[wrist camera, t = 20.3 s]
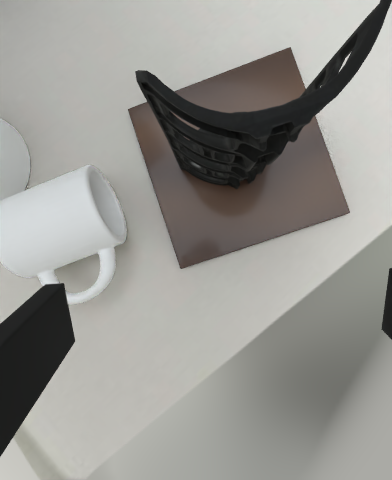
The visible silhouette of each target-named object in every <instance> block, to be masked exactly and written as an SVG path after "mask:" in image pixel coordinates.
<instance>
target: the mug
mask: <svg viewBox="0 0 392 480" xmlns="http://www.w3.org/2000/svg"><path fill="white" fill-rule="evenodd" d="M126 237H127V227H126V221H125V217H124V214H123V211H122V208H121V205H120V203H119V200H118V198H117V196H116V194H115V192H114V190H113V188H112V186H111V185H110V183H109V182H108V180H107V179H106V177H105V176H104V175H103V174H102V172H101V171H100V170H99V169H97V168H96V167H95V166H92V165H86V166H84V167H81V168H79V169H76V170H74V171H71V172H69V173H66V174H64V175H61V176H59V177H56V178H54V179H52V180H49V181H47V182H44V183H42V184H39V185H37V186H34V187H32V188H29V189H27V190H24V191H22V192H20V193H17V194H15V195H12V196H10V197H7V198H5V199H2V200H0V263H1V264H2V265H3V266H4V267H5V268H7V269H8V270H9V271H10V272H12V273H14V274H16V275H18V276H20V277H24V278H32V277H36V276H38V278H39V280H40V282H41V284H42V286H44V285H45V284H60V282H59V281H58V279H57V277H56V274H55V272H54V271H55V269H57V268H59V267H62V266H64V265H67V264H70V263H72V262H75V261H78V260H80V259H83V258H85V257H88V256H91V255H93V254H96V253H98V254H99V258H100V273H99V277H98V279H97V281H96V283H95V284H94V285H93V286H92V287H90V288H89V289H87V290H85V291H83V292H80V293H75V294H74V293H69V292H67V291H66V290H65V292H66V297H67V302H68V305H76V304H80V303H84V302H86V301H88V300H90V299H92V298H94V297H95V296H97V295H98V294H100V293H101V292H102V291H103V290H104V289H105V288H106V287H107V286H108V284H109V283H110V282H111V280H112V278H113V276H114V273H115V268H116V256H115V250H114V247H115V246H117V245H120V244H122V243H124V242H125V240H126Z"/></svg>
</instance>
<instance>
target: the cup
mask: <svg viewBox="0 0 392 480" xmlns="http://www.w3.org/2000/svg"><path fill="white" fill-rule="evenodd" d="M29 175H30V156H29V152H28V148H27V145H26V143H25V141H24V139H23V137H22V136H21V135H20V134H19V132H18V131H17V130H16V129H15V128H14V127H13V126H11V125H10V124H9V123H8V122H6V121H4V120H3V119H1V118H0V200H2V199H5V198H7V197H10V196H12V195H15V194H17V193H20V192H22V191H24V190H25V188H26V185H27V183H28V180H29Z"/></svg>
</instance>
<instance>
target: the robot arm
mask: <svg viewBox="0 0 392 480" xmlns="http://www.w3.org/2000/svg"><path fill="white" fill-rule="evenodd" d="M382 330H383V331H384V332H385V333H386V334H387V335H388V336H389V337H390V338H391V339H392V268H390V269H389V276H388V284H387V292H386V299H385V307H384V315H383V322H382ZM74 342H75V337H74V332H73V327H72V322H71V317H70V312H69V307H68V302H67V297H66V292H65V287H64V283H60V284H45V285H44V286H43V287H42V288H41V289H40V290H38V291H37V292H36V293H35V294H34V295H33V296H32V297H30V298H29V299H28V300H27V301H26V302H25V303H24V304H23V305H21V306H20V307H19V308H18V309H17V310H16V311H15V312H13V313H12V314H11V315H10V316H9V317H8V318H7V319H6V320H4V321H3V322H2V323H1V324H0V456H1V455H2V453H3V452H4V450H5V449H6V447H7V446H8V444H9V443H10V441H11V439H12V438H13V436H14V435H15V433H16V432H17V430H18V429H19V427H20V426H21V424H22V423H23V421H24V419H25V418H26V416H27V415H28V413H29V412H30V410H31V409H32V407H33V406H34V404H35V402H36V401H37V399H38V398H39V396H40V395H41V393H42V392H43V390H44V389H45V387H46V386H47V384H48V382H49V381H50V379H51V378H52V376H53V375H54V373H55V372H56V370H57V369H58V367H59V365H60V364H61V362H62V361H63V359H64V358H65V356H66V355H67V353H68V352H69V350H70V349H71V347H72V345H73V344H74Z"/></svg>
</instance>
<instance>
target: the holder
mask: <svg viewBox="0 0 392 480" xmlns="http://www.w3.org/2000/svg"><path fill="white" fill-rule="evenodd" d="M391 2H392V0H381V1H380V3H379V4H378V6H377V7H376V8H375V9H374V10H373V11H372V12H371V13H370V14H369V15H368V16H367V18H366V19H365V20H364V21H363V22H362V23H361V25H360V26H359V27H358V28H357V29H356V31H355V32H354V33H353V34H352V35H351V36H350V38H349V39H348V40H347V41H346V42H345V43H344V45H343V46H342V47H341V48H340V49H339V50H338V52H337V53H336V54H335V55H334V56H333V58H332V59H331V60H330V61H329V62H328V63H327V65H326V66H325V67H324V68H323V69H322V71H321V72H320V73H319V74H318V76H317V77H316V78H315V79H314V80H313V82H312V83H311V84H310V85H309V86H308V87H307V89H306V90H305V91H304V92H303V93H302V95H301V96H300V97H299V98H297V99H294V100H292V101H290V102H288V103H286V104H283V105H280V106H275V107H271V108H267V109H263V110H258V111H251V112H234V113H226V112H219V111H215V110H210V109H207V108H204V107H201V106H198V105H196V104H194V103H191V102H189V101H187V100H185V99H184V98H182V97H181V96H179V95H178V94H177V93H175V92H174V91H172V90H171V89H170V88H168V87H167V86H166V85H164V84H163V83H162V82H161V81H160V80H159V79H158V78H157V77H156V76H155V75H153V74H151V73H150V72H148V71H142V70H138V71H135V72H136V79H137V82H138V84H139V86H140V89H141V90H142V92H143V94H144V96H145V98H146V100H147V102H148V104H149V105H150V107H151V109H152V111H153V113H154V115H155V117H156V119H157V121H158V123H159V125H160V127H161V128H162V130H163V132H164V134H165V136H166V138H167V140H168V142H169V145H170V147H171V149H172V151H173V153H174V156H175V158H176V160H177V163H178V165H179V167H180V169H181V170H185V171H187V172H188V173H190V174H191V175H193V176H194V177H196V178H198V179H200V180H202V181H205V182H208V183H211V184H215V185H223V186H226V185H229V186H231V187H233V188H235V189H238V188H239V186H240V181H243V180H245V179H246V180H247V182H248V184H251V183H252V182H253V181H254V180H255V177H256V175H257V174H261V173H262V172H263V170H264V168H265V166H266V164H267V165H270V164H271V163H272V162H274V161H275V160H276V159H277V158H278V157H279V156H280V155H281V154H282V152H283V150H284V148H285V146H286V144H287V143H288V142H289V141H290V142H295V141H296V140H297V138H298V135H299V133H300V132H301V130H302V128H303V127H304V126H305V125H307V124H309V123H310V121H311V120H312V118H313V117H314V116H315V115H316V114H317V113H319V112H320V111H321V110H322V109H323V108H324V107H325V106H326V105H327V104H328V103H329V102H330V101H332V100H333V99H334V98H335V97H336V96H337V95H338V94H339V93H340V92H341V91H342V90H343V88H344V87H345V86H346V85H347V84H348V83H349V82H350V80H351V79H352V78H353V77H354V75H355V74H356V73H357V71H358V70H359V68H360V67H361V65H362V63H363V62H364V60H365V59H366V57H367V56H368V54H369V53H370V51H371V49H372V47H373V45H374V43H375V41H376V39H377V37H378V34H379V32H380V30H381V28H382V25H383V23H384V20H385V17H386V14H387V11H388V9H389V6H390V4H391ZM351 51H352V52H351ZM350 53H351V54H350ZM349 54H350V56H349V58H348V60H347V62H346V64H345V65H344V67H343V68H342V69H341V71H340V72H339V70H340V68H341V66H342V64H343V62H344V60H345V58H346V57H347V56H348V55H349ZM321 85H322V86H321ZM320 86H321V87H320ZM172 112H173V113H174V114H176V115H177V116H178V117H180V118H181V119H183V120H185V121H187V122H189V123H190V124H192V125H194V126H196V127H198V128H200V129H199V130H197V129H195V128H193V127H190V126H189V125H187V124H186V123H184V122H182V121H181V120H180V119H178V118H177V117H176V116H175V115H174V114H173V113H172ZM185 137H186V138H187V139H186V138H185ZM188 139H189V140H188Z"/></svg>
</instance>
